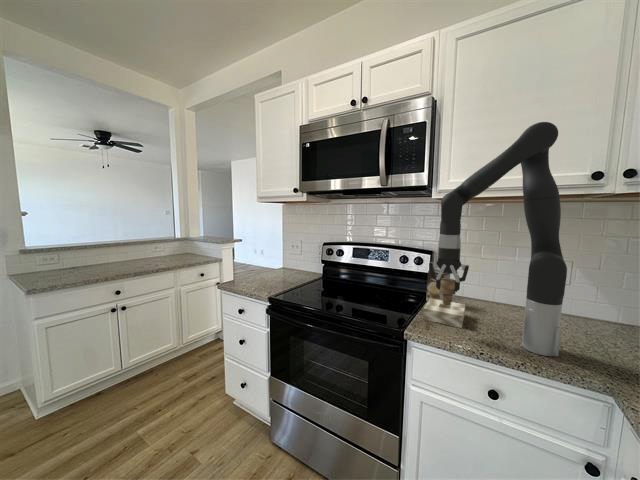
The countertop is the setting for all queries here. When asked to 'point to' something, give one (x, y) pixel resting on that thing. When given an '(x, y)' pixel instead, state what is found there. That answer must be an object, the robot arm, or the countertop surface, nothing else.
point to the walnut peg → (447, 290)
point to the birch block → (444, 312)
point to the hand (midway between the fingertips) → (447, 290)
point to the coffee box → (434, 286)
